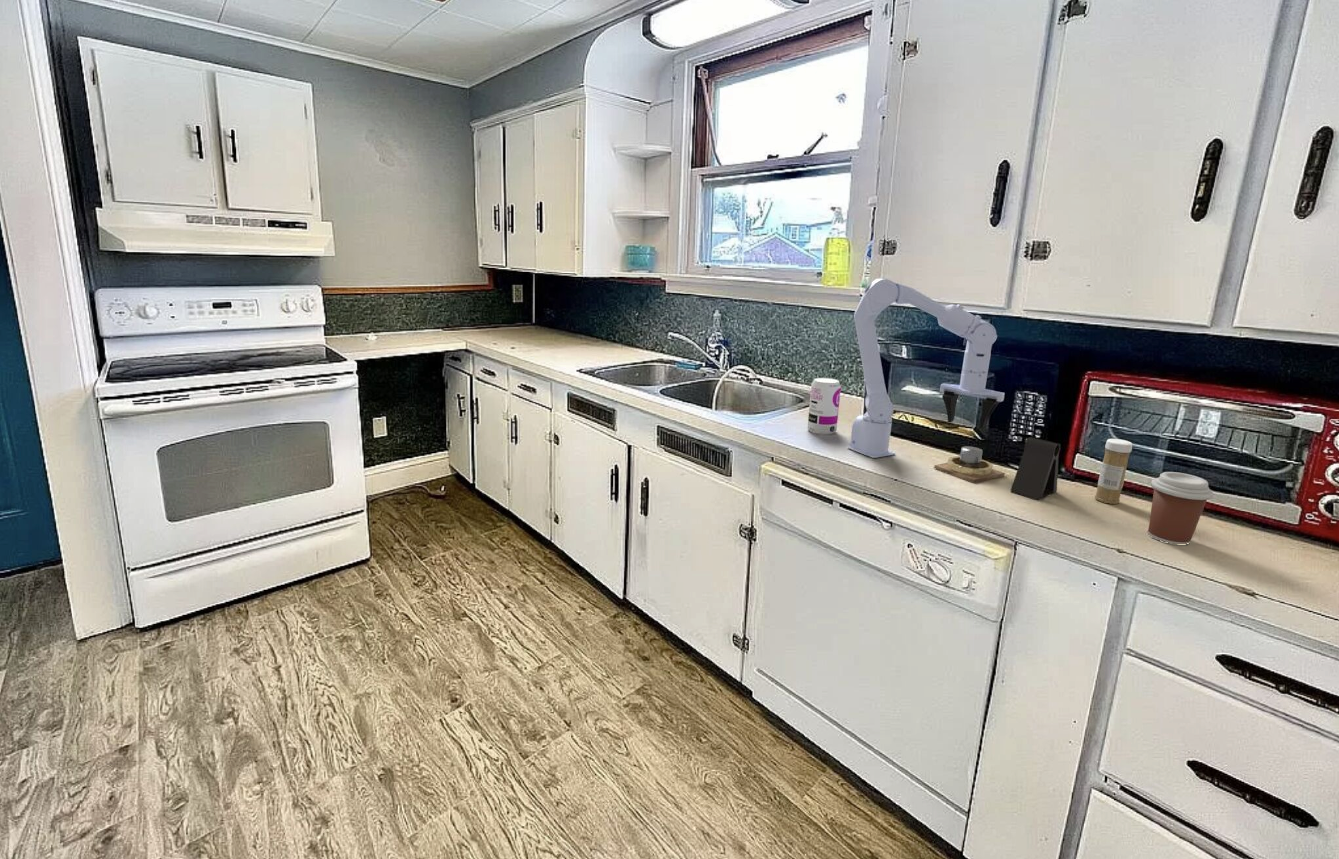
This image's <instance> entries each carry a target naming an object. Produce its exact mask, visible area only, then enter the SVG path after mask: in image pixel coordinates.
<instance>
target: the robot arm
mask: <svg viewBox="0 0 1339 859" xmlns="http://www.w3.org/2000/svg"><path fill="white" fill-rule="evenodd" d="M893 303H896V305H897V304H898V305H901V304H909V305H912V306H913V307H915V308H918V309H919V310H921V311H923V312H925V313H928V314H929V315H932V316H934V317H935V318H937V323H938V326H939V327H941V328H943V329H945V330H947V331H948V332H950V333H953V334H955V336H959V337H960V338H963V339H964V338H965V339H966V345H965V350H964V355H963V362H962V367H961V368H962V369H961V374H960V382H959V384H951V383H944V382H943V383H941V384H940V388H939V392H940V393H943V394H942V395H941V398H942V400H943V402H944V406H945V409H946V415H947V422H948V423H952V422H954V420H955V414H956V407H957V401H958V399H959V396H961V395H962V396H966V397H971V398H978V399H984V400H982V405H981V406H982V409H981V410H982V411H981V417H980V423H979V429H985V428H986V426H987V424H988V420H989V419H990V416H991V415H992V413H993V412H994V410H995V409H996V407H997V406H998V405H999V404H1000V403H1001V402H1004V400H1005V392H1001V391H996V390H992V389H988V388H986V386H987V379H988V375H989V374H988V372H989V366H990V361H991V354H992V353H991V351H992V348H993V344H994V343H995V342H996V340H997V339H998V334H997V330H996V328H995V326H994V325H993V324H991V323H990V322H987V321H985V320H984V319H982V316H980V315H978V314H976V315H974V314H972V313H970V312H969V311H967V310H965V308H964V306H963V305H961V304H959V303H958V304H957V305H955V304H953V303H952V304H949V305H943V304H941V303H940V302H937V301H936V300H934V299H932V298H931V297H929V296H927V295H925V294H923V293H922V292H920V291H919V290H916V289H914V288H913V287H910V286H908V285H906V284H902V283H899V282H896V281H893V280H891V279H889V278H886V277H877V278H876V279H873V281H872V282H871V283H869V285H867V286H866V288H865V289H864V291H863V293H862V296H861V298H860V301H859V303H858V305H857V307H856V309H855V311H854V314H853V319H854V325H855V330H856V335H857V342H858V347H859V352H860V353H859V354H860V359H861V364H862V370H863V376H864V377H863V378H864V381H865V389H866V396H865V400H864V405H865V406H864V407H865V408H866V412H865V413H864V414H861V415H858V416H857V417H856V418H854V420H853V423H852V425H851V433H850V434H851V435H850V436H851V437H850V443H849V446H847V449H850V450H852V451H854V452H857V453H859V454H862V455H865V456H867V457H870V458H871V459H876V458H882V457H887V456H894V455H896V452H895V451H893V450H890V449H889V446H890V440H891V433H892V422H893V418H892V416H893V414H894V411H895V410H894V405H893V403H892V402H891V399H890V396H889V395H888V392H887V388H886V383H885V377H884V373H883V372H884V370H883V366H882V360H881V354H880V348H879V342H878V336H877V331H876V324H875V320H876V319H877V318H878V316H879V315H880V314H881V313H882V311H883V310H885V309H886V308H888V307H889V306H890V305H892V304H893Z"/></svg>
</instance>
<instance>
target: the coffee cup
mask: <svg viewBox="0 0 1339 859" xmlns="http://www.w3.org/2000/svg"><path fill="white" fill-rule="evenodd" d="M1150 486H1151V488H1153V496H1152V500H1151V501H1152V502H1151V508H1150V515H1149V516H1150V517H1149V523H1148V530H1147V536H1149V535H1150V536H1152V537H1153V538H1156V539H1157V540H1161V541H1163V542H1168V543H1172V544H1187V543H1189V542H1190V543H1191V541H1192V539H1193V536H1194V533H1195V531H1196V528H1197V525H1198V523H1199V521H1200V518H1201V516H1202V514H1203V511H1204V508H1205V505H1206V503H1207V501H1208V500H1211V499H1212V498H1213V497H1214V492H1213V490H1212V489H1210V487H1209V482H1208V481H1207V480H1206V479H1204V478H1202V477H1199V476H1197V475H1193V474H1189V473H1183V472H1177V471H1176V472H1175V471H1164V472H1162V473H1160V474H1159V477H1156V478H1154V479H1152V480H1151V482H1150ZM1150 536H1149V537H1150ZM1153 538H1152V539H1153ZM1157 540H1156V541H1157ZM1163 542H1162V543H1163ZM1172 544H1171V545H1172Z"/></svg>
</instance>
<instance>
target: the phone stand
mask: <svg viewBox="0 0 1339 859" xmlns="http://www.w3.org/2000/svg"><path fill="white" fill-rule="evenodd" d="M1060 451H1061V444H1060V443H1058V442H1053V441H1049V440H1045V439H1041V438H1037V437H1032V436H1030V437H1027V438H1026V440H1025V443H1024V449H1023V453H1022V456H1021V459H1020V462H1019V465H1018V467H1017V471H1016V473H1015V476H1014V480H1013V482H1012V484H1011V488H1010V491H1009V492H1010V493H1012V494H1013V493H1014V494H1015V495H1016V494H1017V495H1019V496H1022V497H1026V498H1029V499H1033V500H1036V501H1042V500H1043V499H1045V498H1048V497H1050V496H1052V495H1054V494H1056V493H1057V491H1058V478H1059V476H1058V475H1059V474H1058V473H1059V470H1058V469H1059V456H1060ZM1049 495H1050V496H1049Z"/></svg>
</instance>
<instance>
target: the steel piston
mask: <svg viewBox="0 0 1339 859" xmlns="http://www.w3.org/2000/svg"><path fill="white" fill-rule="evenodd" d="M959 454H960V455H959V456H960V460H959V465H960V466H963V467H969V468H980V464H981V460H982V456H983V449H982V448H979V447H976V446H975V447H974V446H969V445H968V446H967V445H965V446H961V449H960V453H959Z"/></svg>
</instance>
